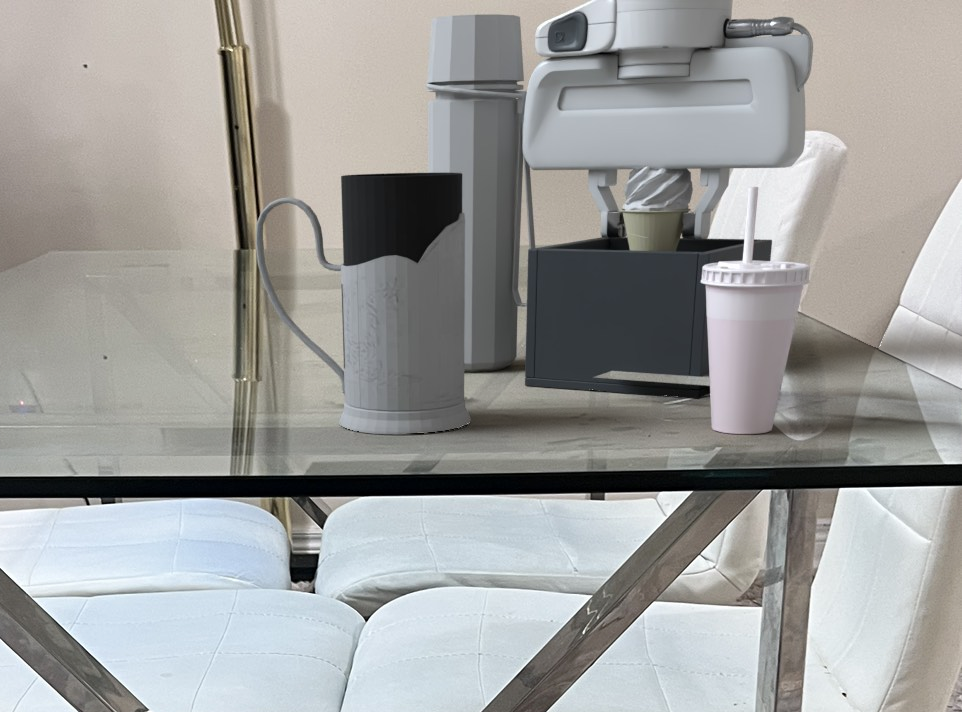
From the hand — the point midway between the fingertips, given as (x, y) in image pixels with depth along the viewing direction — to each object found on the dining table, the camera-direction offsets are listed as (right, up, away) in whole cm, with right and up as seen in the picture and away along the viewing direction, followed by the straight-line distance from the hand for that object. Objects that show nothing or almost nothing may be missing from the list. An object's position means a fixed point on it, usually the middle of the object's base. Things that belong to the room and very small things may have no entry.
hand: (653, 238), depth 102 cm
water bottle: (-12, -6, +11) cm, 17 cm away
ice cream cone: (0, -6, +3) cm, 6 cm away
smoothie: (+3, -18, -14) cm, 23 cm away
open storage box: (0, -9, +4) cm, 10 cm away
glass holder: (-21, -16, -9) cm, 28 cm away
